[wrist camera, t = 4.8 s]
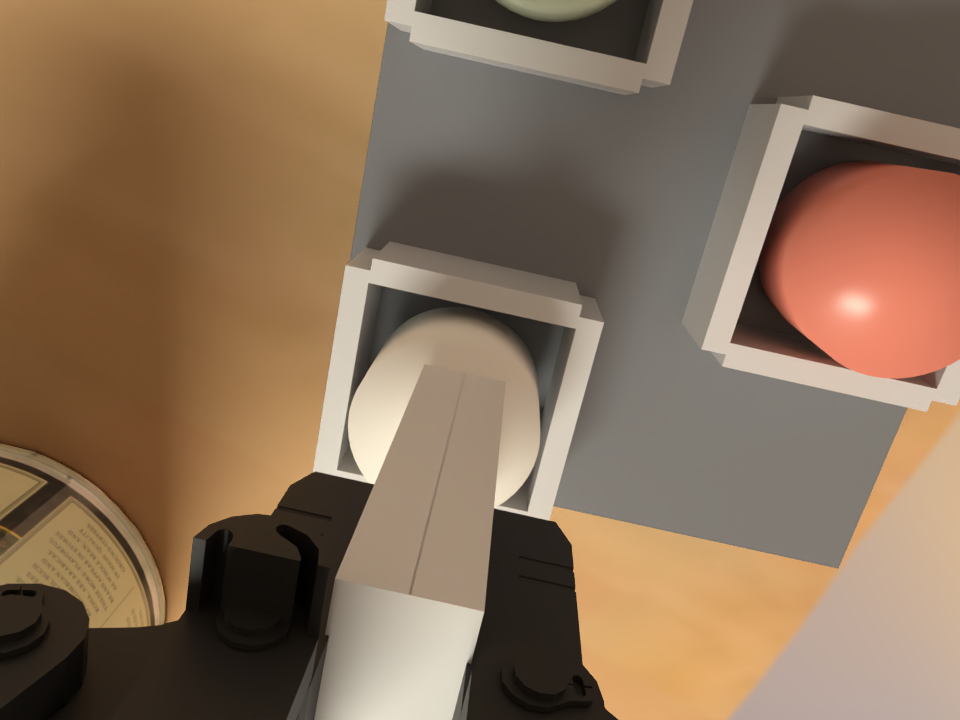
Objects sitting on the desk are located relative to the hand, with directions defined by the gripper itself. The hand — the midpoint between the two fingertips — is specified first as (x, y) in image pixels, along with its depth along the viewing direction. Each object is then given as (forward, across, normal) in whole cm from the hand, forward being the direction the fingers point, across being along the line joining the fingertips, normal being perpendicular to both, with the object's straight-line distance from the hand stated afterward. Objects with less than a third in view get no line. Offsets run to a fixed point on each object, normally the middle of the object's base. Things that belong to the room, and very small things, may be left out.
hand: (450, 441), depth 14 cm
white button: (+3, 0, 0) cm, 3 cm away
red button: (+3, +7, +5) cm, 9 cm away
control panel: (+7, +3, +5) cm, 9 cm away
